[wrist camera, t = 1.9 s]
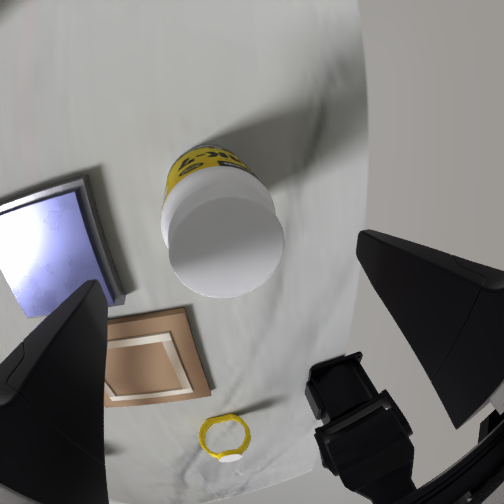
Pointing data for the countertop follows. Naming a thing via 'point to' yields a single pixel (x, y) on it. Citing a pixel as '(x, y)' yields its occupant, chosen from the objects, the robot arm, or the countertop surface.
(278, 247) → the supplement bottle
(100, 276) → the ink pad
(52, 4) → the countertop surface
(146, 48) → the countertop surface
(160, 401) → the marked board
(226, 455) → the watch
